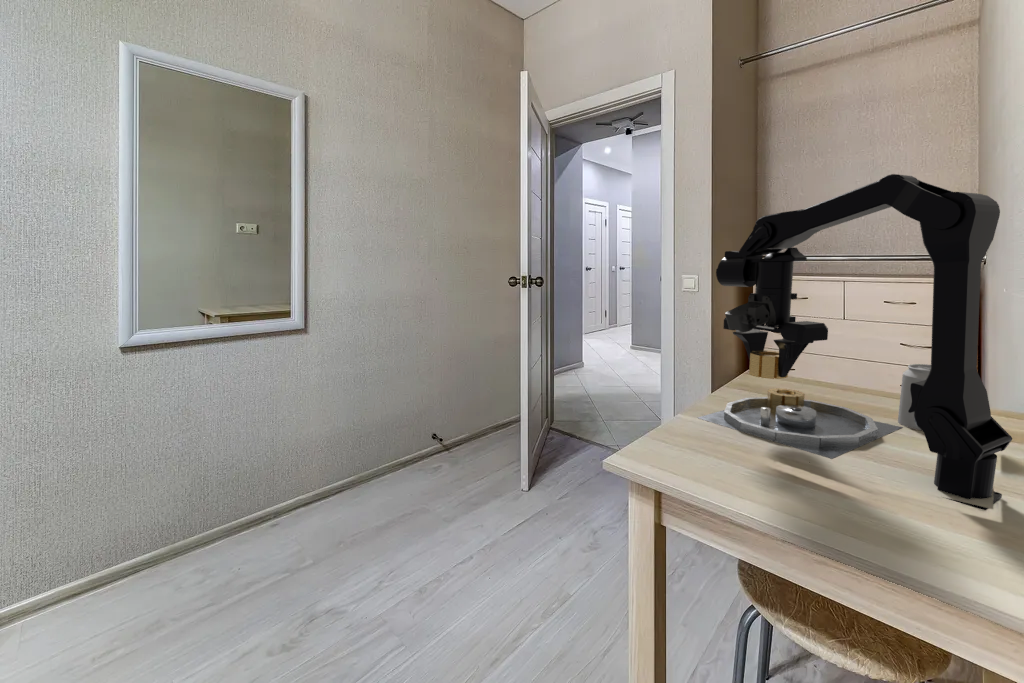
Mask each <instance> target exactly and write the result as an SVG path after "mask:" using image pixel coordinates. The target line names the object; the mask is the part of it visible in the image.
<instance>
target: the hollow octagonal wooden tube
mask: <svg viewBox="0 0 1024 683" xmlns="http://www.w3.org/2000/svg"><path fill="white" fill-rule="evenodd" d="M748 368H749V370H748V371H749V372H748V374H749V376H752V377H755V378H761V379H769V380H771V379H772V380H774V379H776V380H780V379H788V377H789V373H788V374H787V376H786V377H780V376H779V350H778V351H777V350H765V349H764V351H762V350H759V351H751V353H750V360H749V367H748Z"/></svg>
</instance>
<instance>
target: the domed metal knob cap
mask: <svg viewBox="0 0 1024 683" xmlns="http://www.w3.org/2000/svg"><path fill="white" fill-rule="evenodd" d="M775 420H776V422H777V423H779V424H782V425H785V426H789V427H795V428H811V427H814V426H815V424H816V411H815V410H814V409H812V408H809V407H805V406H799V405H779V406H777V407H776V418H775Z"/></svg>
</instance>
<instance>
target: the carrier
mask: <svg viewBox="0 0 1024 683" xmlns="http://www.w3.org/2000/svg"><path fill="white" fill-rule="evenodd" d="M785 395H789V394H785ZM767 397H768V396H759V397H758V396H756V397H744V398H741V399H736V400H734V401H730V402H727V403H726V406H725V409H722V410H720V411H716V412H712V413H709V414H708V413H707V414H706V415H705V414H704V415H702V416H698V417H696V418H697V419H699V420H702V421H706V422H709V423H711V424H716V425H718V426H723V427H724V428H725V427H726V428H729V429H733V430H735V431H738V432H741V433H745V434H748V435H751V436H755V437H758V438H762V439H765V440H767V441H768V440H769V441H770V442H771V441H772V442H774V443H778V444H781V445H785V446H788V447H792V448H794V449H798V450H801V451H804V452H807V453H811V454H813V455H814V454H815V455H818V456H821V457H824V458H827V459H831V460H833V459H835V458H838V457H839V456H842V455H844V454H847V453H849V452H850V451H853V450H855V449H857V448H860V447H863V446H864V445H867V444H869V443H872V442H873V441H876V440H878V439H881V438H883V437H885V436H887V435H889V434H892V433H894V432H897V431H898V430H900V429H903V428H904V426H899V425H895V424H894V425H893V424H890V423H885V422H880V421H876V420H873V418H872V417H871V416H868V415H865V414H863V413H860V412H858V411H856V410H853V409H852V408H848V407H845V406H841V405H835V404H831V403H828V402H822V401H817V400H812V399H805V398H804V406H805V407H809V408H812V409H814V410H815V411H816V424H815V426H814V427H811V428H795V427H789V426H785V425H782V424H779V423H777V422H776V420H775V418H776V414H774V413H771V412H770V410H771V409H770V408H768V407H767Z"/></svg>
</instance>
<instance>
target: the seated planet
mask: <svg viewBox="0 0 1024 683" xmlns="http://www.w3.org/2000/svg"><path fill="white" fill-rule="evenodd" d="M785 394H789V395H785ZM805 395H806V394H805V393H803V391H800V390H795V389H792V388H789V389H788V388H780V387H779V388H771V389H768V390H767V396H766V397H767V407H768V408H770V409H771V410H770V412H771V413H774V414H776V407H777V406H779V405H799V406H804V399H805Z"/></svg>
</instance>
